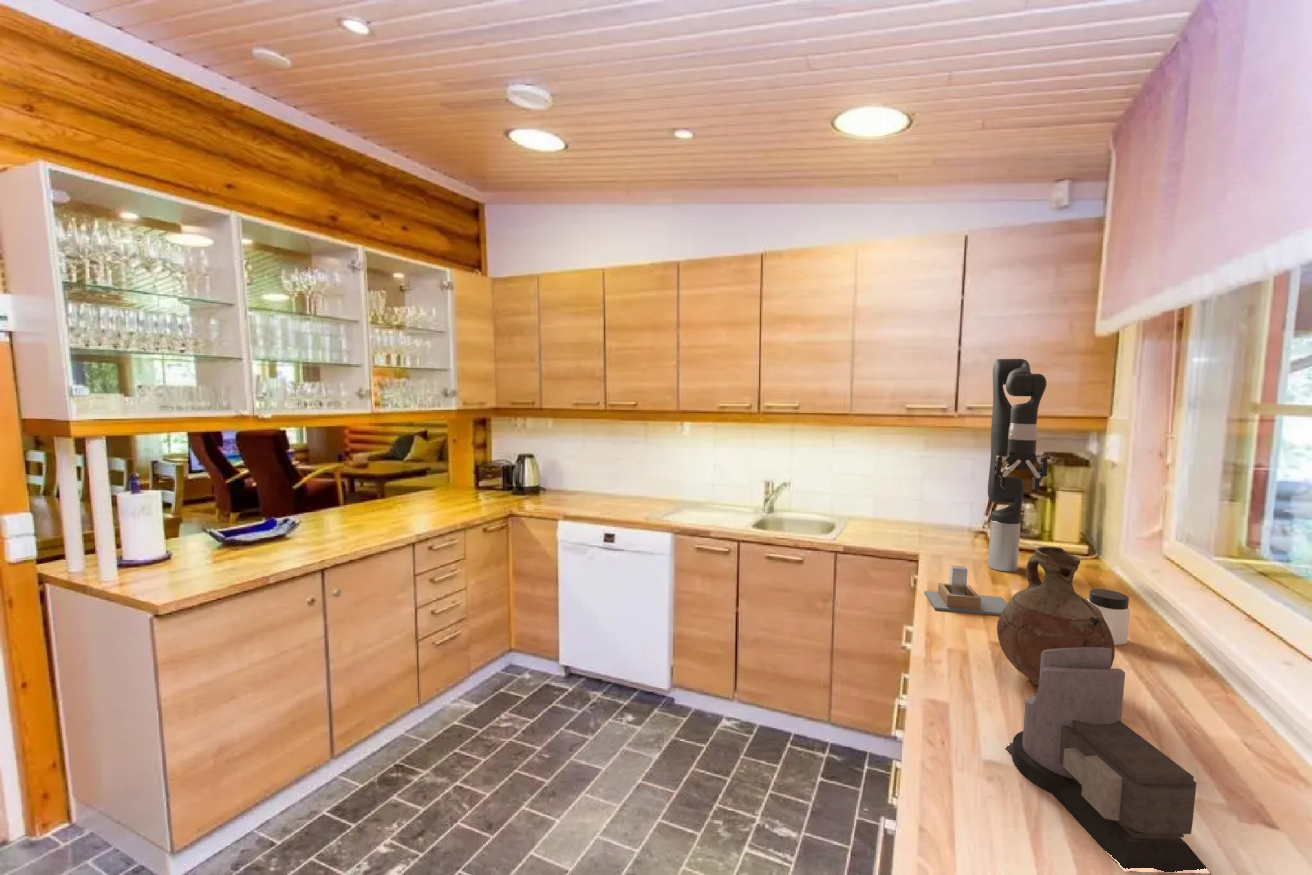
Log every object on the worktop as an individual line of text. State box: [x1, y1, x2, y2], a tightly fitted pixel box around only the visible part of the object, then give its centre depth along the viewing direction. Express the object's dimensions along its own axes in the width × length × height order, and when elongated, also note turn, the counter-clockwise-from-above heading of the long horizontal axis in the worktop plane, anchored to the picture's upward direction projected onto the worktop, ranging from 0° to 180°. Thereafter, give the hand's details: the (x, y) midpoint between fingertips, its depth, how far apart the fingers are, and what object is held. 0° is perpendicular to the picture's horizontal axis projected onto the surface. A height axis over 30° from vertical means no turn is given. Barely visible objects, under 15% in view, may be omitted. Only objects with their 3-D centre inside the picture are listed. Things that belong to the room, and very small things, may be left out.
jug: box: [996, 545, 1116, 687], centre depth 128 cm, size 22×22×30 cm
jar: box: [1086, 588, 1131, 646], centre depth 152 cm, size 9×8×12 cm
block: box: [948, 564, 968, 595], centre depth 175 cm, size 6×4×10 cm, turn 166°
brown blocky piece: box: [1005, 647, 1207, 872], centre depth 93 cm, size 30×16×24 cm, turn 178°
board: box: [924, 582, 1008, 617], centre depth 175 cm, size 14×22×4 cm, turn 77°
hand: (1019, 489), depth 183 cm, fingers open, 8 cm apart
